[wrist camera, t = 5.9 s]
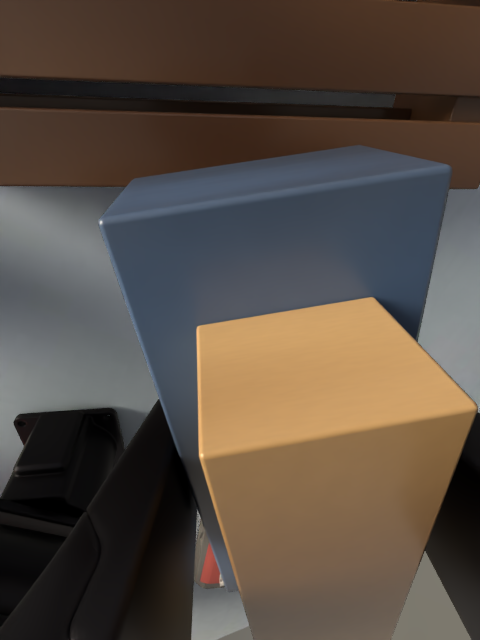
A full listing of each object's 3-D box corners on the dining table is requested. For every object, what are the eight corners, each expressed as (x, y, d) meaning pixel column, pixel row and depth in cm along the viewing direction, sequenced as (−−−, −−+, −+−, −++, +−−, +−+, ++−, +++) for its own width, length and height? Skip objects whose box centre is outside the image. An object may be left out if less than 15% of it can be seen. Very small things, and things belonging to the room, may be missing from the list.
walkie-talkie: (269, 555, 38) (321, 435, 28) (277, 604, 34) (341, 486, 24) (190, 560, 36) (215, 434, 26) (190, 611, 33) (219, 488, 22)
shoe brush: (324, 442, 12) (413, 668, 7) (217, 461, 12) (234, 706, 7) (331, 137, 7) (675, 210, 2) (141, 165, 7) (5, 318, 2)
